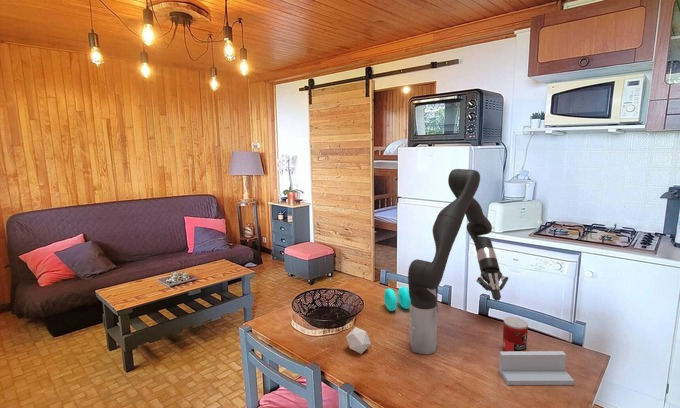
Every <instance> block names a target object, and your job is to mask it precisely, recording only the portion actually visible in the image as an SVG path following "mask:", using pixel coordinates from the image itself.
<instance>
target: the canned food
mask: <svg viewBox="0 0 680 408" xmlns="http://www.w3.org/2000/svg"><path fill="white" fill-rule="evenodd" d="M502 325H503V328H502V349H503V350H504V351H503V352H507V351H527V349H528V348H527V346H528V331H529V330H528V329H529V325H528V322H527V321H526V320H525V319H523V318H520V317H518V316H517V317H516V316H507V317H505V318H504V319H503V324H502Z"/></svg>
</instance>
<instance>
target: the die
mask: <svg viewBox="0 0 680 408" xmlns="http://www.w3.org/2000/svg"><path fill="white" fill-rule="evenodd" d="M345 339H346V341H347V344H348V347H349V349H350V350H353V351H354V352H356V353H358V354H360V355H361V354H363V353H364V352H365V351H366V350H367V349H368V348H369V346H370V345H371V344H372V343H371V340H370V337H369V335H368V333H367V331H366V330H364V329H362V328H359V327H357V326H355V327H353V329H352V330H351V331H350V332H349V333H348V334H347V335H346V336H345Z"/></svg>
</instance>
